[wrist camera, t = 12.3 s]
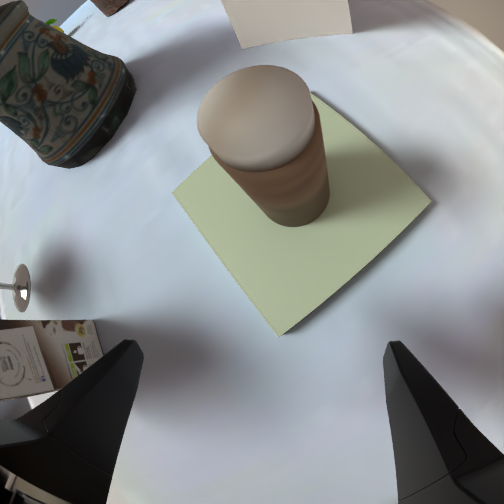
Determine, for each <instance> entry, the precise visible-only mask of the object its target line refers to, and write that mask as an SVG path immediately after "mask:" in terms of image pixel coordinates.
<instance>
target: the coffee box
mask: <svg viewBox="0 0 504 504" xmlns="http://www.w3.org/2000/svg"><path fill="white" fill-rule="evenodd" d="M102 356H103V353H102V350H101V347H100V343H99V340H98V336H97V333H96V329H95V325H94V322H93V320H1V319H0V401H6V400H13V399H19V398H24V397H29V396H34V395H40V394H44V393H49V392H54V391H58V390H60V389H62V388H63V387H64V386H65V385H67V384H68V383H69V382H70V381H72V380H73V379H74V378H76V377H77V376H78V375H79V374H81V373H82V372H83V371H84V370H86V369H87V368H88V367H90V366H91V365H92V364H93V363H95V362H96V361H97V360H99V359H100V358H101V357H102Z"/></svg>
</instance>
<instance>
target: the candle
mask: <svg viewBox="0 0 504 504" xmlns="http://www.w3.org/2000/svg"><path fill="white" fill-rule="evenodd" d="M91 1H92V2H93V3H94V4H95V6H96V7H97V8H98V9H100V10H101V11H102V12H103V13H104V14H105V15H106V16H107V17H108V16H110V15H112V14H113V13H115V12H116V11H117V10H118V9H119V8H120V7H122V6H123V5H124V4H125V3H126V2H127V1H128V0H91Z"/></svg>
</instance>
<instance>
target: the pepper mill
mask: <svg viewBox="0 0 504 504" xmlns="http://www.w3.org/2000/svg"><path fill="white" fill-rule="evenodd" d="M197 126H198V131H199V133H200V136H201V137H202V139H203V140H204V141H205V142H206V144H207V145H208V146H209V149H210V152H211V154H212V156H213V157H214V159H215V160H216V161H217V163H218V164H219V165H220V166H221V167H222V168H223V169H224V170H225V171H226V172H227V173H228V174H229V175H230V176H231V178H232V179H233V180H234V181H235V182H236V183H237V184H238V185H239V186H240V187H241V188H242V189H243V190H244V191H245V193H246V194H247V195H248V196H249V197H250V198H251V199H252V200H253V201H254V202H255V203H256V204H257V206H258V207H259V208H260V209H261V210H262V211H263V212H264V213H265V214H266V215H267V217H268V218H270V219H271V220H272V221H274V222H275V223H277V224H279V225H282V226H286V227H300V226H304V225H307V224H309V223H311V222H313V221H314V220H316V219H317V218H318V217H319V216H320V215H321V214H322V213H323V212H324V210H325V209H326V207H327V204H328V201H329V197H330V188H329V179H328V171H327V163H326V155H325V148H324V141H323V134H322V128H321V121H320V115H319V112H318V109H317V107H316V105H315V103H314V102H313V101H312V99H311V94H310V91H309V88H308V86H307V85H306V83H305V82H304V81H303V79H302V78H301V77H299V76H298V75H297V74H296V73H294V72H292V71H290V70H288V69H286V68H282V67H278V66H272V65H259V66H252V67H247V68H244V69H241V70H238V71H236V72H233V73H231V74H229V75H228V76H226V77H224V78H223V79H222V80H220V81H219V82H218V83H216V84H215V85H214V86H213V87H212V88H211V89H210V90H209V92H208V93H207V94H206V96H205V97H204V99H203V101H202V102H201V105H200V107H199V110H198V115H197Z"/></svg>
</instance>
